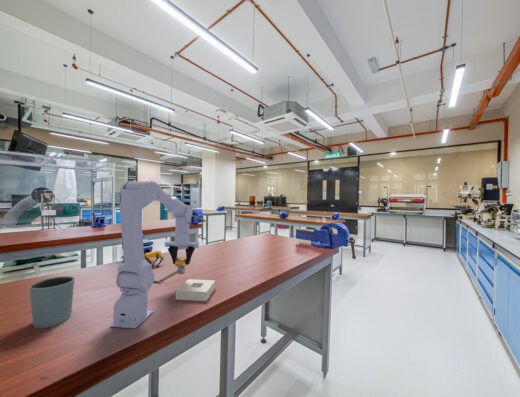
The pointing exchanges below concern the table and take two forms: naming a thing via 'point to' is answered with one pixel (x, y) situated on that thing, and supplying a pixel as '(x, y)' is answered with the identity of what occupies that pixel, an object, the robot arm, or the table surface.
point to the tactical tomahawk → (165, 278)
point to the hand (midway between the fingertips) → (181, 263)
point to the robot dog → (153, 254)
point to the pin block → (195, 290)
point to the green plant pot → (51, 301)
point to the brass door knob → (180, 265)
